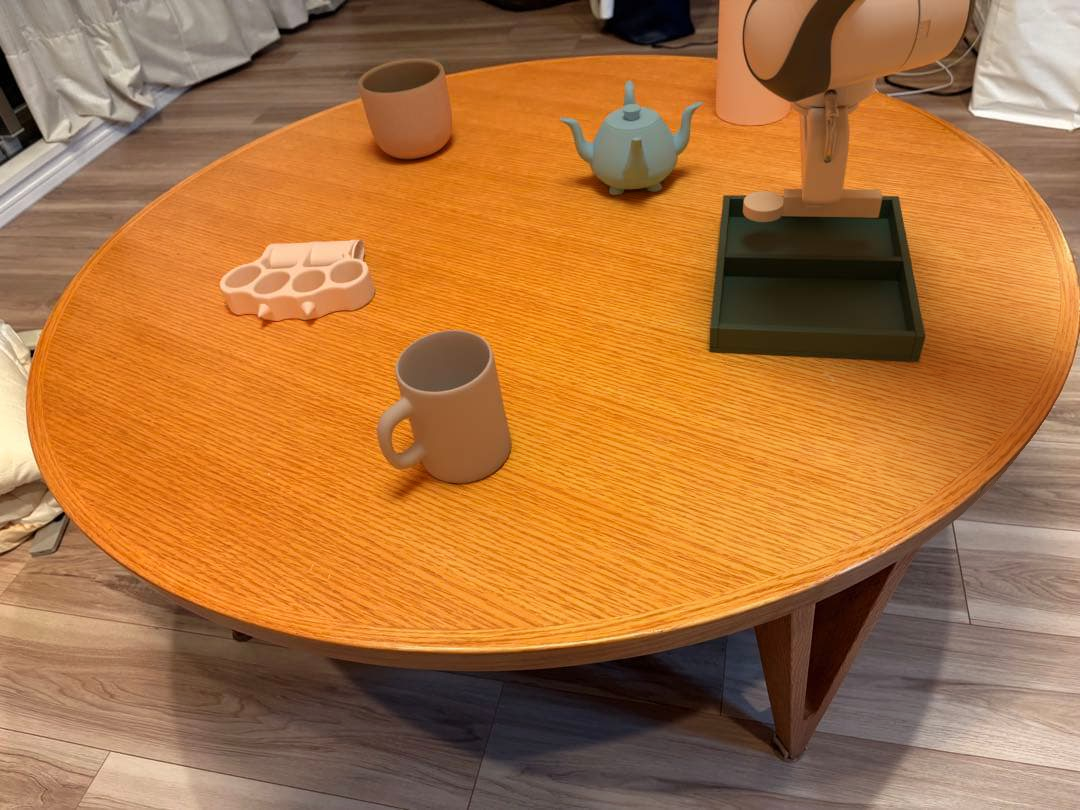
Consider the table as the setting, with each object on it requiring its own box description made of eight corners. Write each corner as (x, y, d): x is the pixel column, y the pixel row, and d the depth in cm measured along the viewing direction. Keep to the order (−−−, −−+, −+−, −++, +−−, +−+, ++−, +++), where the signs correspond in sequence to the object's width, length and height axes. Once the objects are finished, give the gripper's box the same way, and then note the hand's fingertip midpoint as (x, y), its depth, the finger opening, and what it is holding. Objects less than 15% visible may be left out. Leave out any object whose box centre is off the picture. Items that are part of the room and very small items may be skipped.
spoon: (876, 203, 90) (880, 183, 88) (879, 224, 87) (883, 204, 85) (743, 201, 93) (744, 182, 92) (742, 222, 90) (743, 202, 89)
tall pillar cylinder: (748, 88, 126) (759, -97, 109) (805, 106, 119) (827, -89, 102) (700, 113, 122) (704, -77, 105) (757, 132, 115) (772, -66, 98)
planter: (414, 123, 130) (398, 53, 123) (474, 136, 124) (461, 64, 117) (359, 157, 124) (339, 86, 116) (420, 173, 118) (402, 99, 110)
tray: (893, 219, 96) (898, 195, 94) (919, 362, 78) (925, 336, 76) (722, 217, 100) (723, 194, 98) (709, 352, 82) (710, 327, 80)
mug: (473, 405, 80) (452, 316, 73) (530, 447, 75) (514, 356, 68) (372, 473, 75) (339, 384, 68) (426, 523, 70) (397, 433, 63)
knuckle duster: (391, 253, 103) (362, 326, 92) (256, 260, 105) (213, 331, 95) (384, 230, 100) (354, 301, 90) (246, 237, 103) (202, 308, 92)
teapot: (703, 175, 108) (705, 100, 101) (635, 217, 102) (633, 141, 96) (630, 149, 116) (628, 78, 109) (564, 187, 110) (557, 114, 103)
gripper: (872, 118, 72) (848, 252, 81) (857, 31, 86) (838, 154, 95) (796, 119, 73) (782, 251, 82) (794, 34, 87) (782, 154, 97)
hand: (812, 198), depth 89 cm, fingers closed on spoon, 2 cm apart
